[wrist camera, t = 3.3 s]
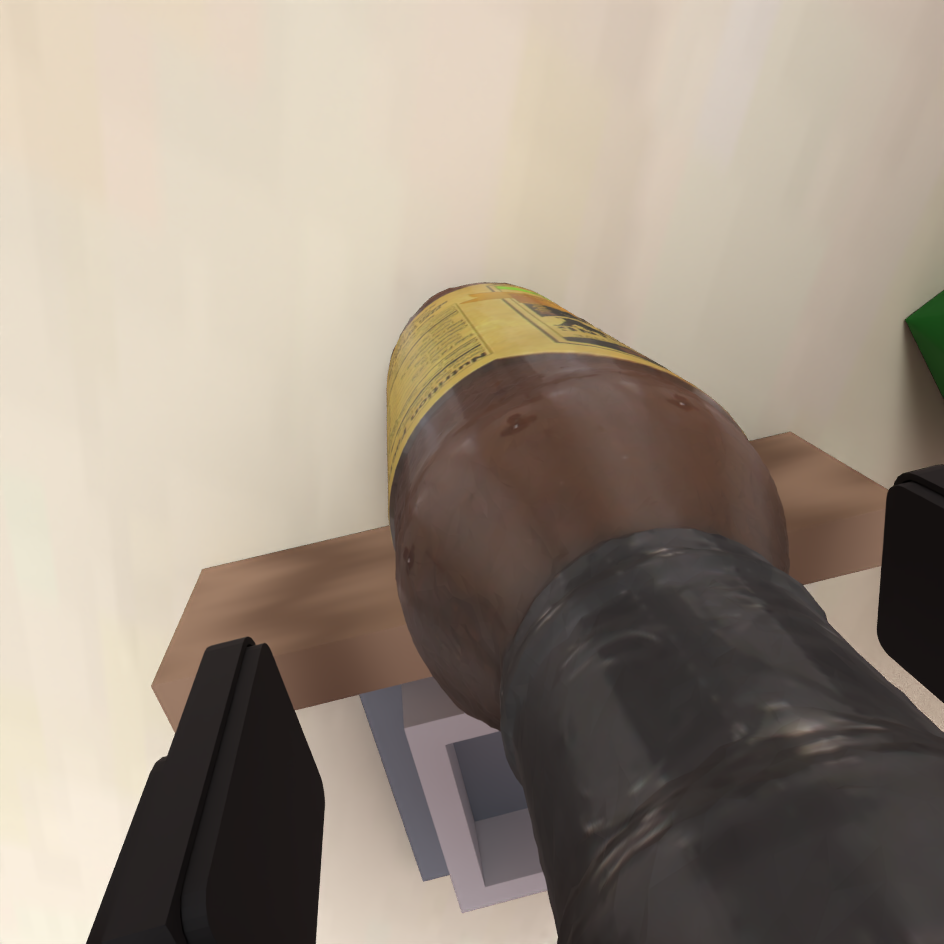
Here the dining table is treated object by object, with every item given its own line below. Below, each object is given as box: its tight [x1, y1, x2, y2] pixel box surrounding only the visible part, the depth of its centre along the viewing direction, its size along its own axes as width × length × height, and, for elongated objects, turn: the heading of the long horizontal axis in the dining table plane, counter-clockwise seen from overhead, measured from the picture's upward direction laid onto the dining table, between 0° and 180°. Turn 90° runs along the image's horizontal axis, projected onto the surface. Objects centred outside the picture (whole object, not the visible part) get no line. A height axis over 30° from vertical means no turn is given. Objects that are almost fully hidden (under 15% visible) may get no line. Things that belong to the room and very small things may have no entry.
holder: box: [359, 676, 547, 913], centre depth 27 cm, size 14×14×4 cm
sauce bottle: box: [387, 282, 944, 944], centre depth 13 cm, size 6×6×20 cm
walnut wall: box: [151, 432, 888, 733], centre depth 22 cm, size 22×2×6 cm, turn 101°
